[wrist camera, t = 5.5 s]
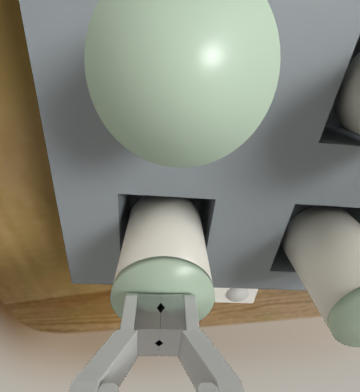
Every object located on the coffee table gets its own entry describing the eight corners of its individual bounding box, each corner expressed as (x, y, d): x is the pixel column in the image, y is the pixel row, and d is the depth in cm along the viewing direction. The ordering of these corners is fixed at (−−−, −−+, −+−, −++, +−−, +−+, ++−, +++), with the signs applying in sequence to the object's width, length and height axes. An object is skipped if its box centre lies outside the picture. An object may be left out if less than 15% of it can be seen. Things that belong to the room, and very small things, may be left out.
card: (266, 258, 23) (269, 263, 23) (252, 299, 26) (253, 304, 26) (183, 255, 23) (183, 260, 22) (177, 298, 26) (177, 303, 25)
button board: (463, 1, 14) (605, -24, 9) (335, 245, 23) (375, 292, 18) (61, -52, 12) (-3, -114, 8) (92, 234, 21) (71, 283, 17)
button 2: (204, 192, 15) (223, 265, 10) (195, 249, 17) (206, 332, 12) (129, 188, 15) (107, 261, 10) (129, 246, 17) (112, 331, 12)
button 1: (237, 9, 10) (309, -38, 5) (218, 122, 12) (254, 172, 7) (123, -5, 10) (71, -71, 5) (125, 115, 12) (93, 162, 7)
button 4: (364, 207, 15) (464, 285, 10) (334, 261, 18) (403, 347, 12) (293, 202, 15) (359, 282, 10) (272, 258, 17) (316, 346, 12)
